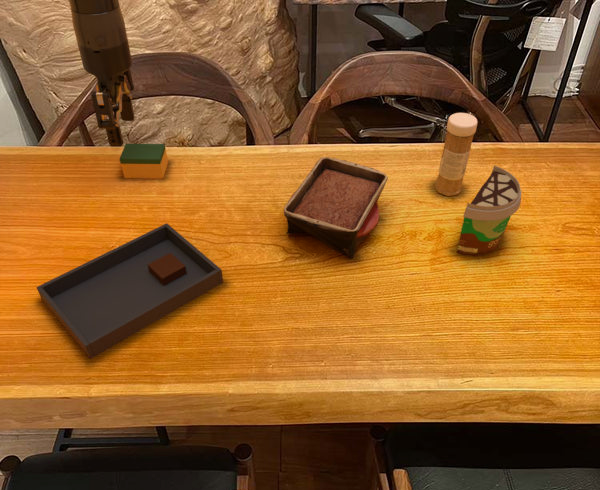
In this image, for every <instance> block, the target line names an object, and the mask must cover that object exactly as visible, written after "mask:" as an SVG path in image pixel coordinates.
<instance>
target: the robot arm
mask: <svg viewBox="0 0 600 490" xmlns="http://www.w3.org/2000/svg"><path fill="white" fill-rule="evenodd" d="M68 4H69V7H70V14H71V22H72V27H73V31H74V36H75V39H76V43H77V44H76V45H77V47H78V51H79V55H80V59H81V63H82V64H81V65H82V67H83V69H84V71H85V72H86V73H88V74H90V75H92V76H94V77H95V78H96V84H95V85H96V90H95V91H93V90H91V93H90V96H91V100H92V104H93V109H94V113H95V117H96V122H97V127H98V129H100V130H101V129H102V130H103V129H104V130H105V132H106V136H107V140H108V145H109V146H110V147H117V148H118V147H119V148H121V147H123V145H124V139H123V135H122V130H121V126H120V118H121V120H122V121H123V122H133V121H134V120H135V117H136V116H135V112H134V106H133V101H132V99H133V93H132V92H134V90H135V84H134V81H133V76H132V72H131V67H132V65H133V60H132V53H131V49H130V45H129V44H130V43H129V38H128V34H127V28H126V23H125V19H124V15H123V11H122V9H121V4H120V0H68Z"/></svg>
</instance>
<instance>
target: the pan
mask: <svg viewBox="0 0 600 490" xmlns="http://www.w3.org/2000/svg"><path fill="white" fill-rule="evenodd" d="M169 253H171V254H173V255H174V256H175V257H176V258H177V259H178V260H179V261H180V262H182V263H183V264H184V265H185V266H186V271H187V274H185V275H183V276H181V277H179V278H177V279H176V280H174V281H172V282H170V283H168V284H166V285H165V286H164V285H163V284H161V283H160V282H159V281H158V280H157V279H156V278H155V277H154V276H153V275H152V274H151V273H150V272H149V268H148V264H150V263H152V262H153V261H155V260H157V259H159V258H161V257H163V256H165V255H167V254H169ZM223 283H224V277H223V272H222V269H221V268H220V267H219V266H218V265H217V264H216V263H214V261H212V260H211V259H210V258H208V256H206V255H205V254H204V253H203V252H202V251H201V250H199V248H197V247H196V246H195V245H193V244H192V243H191V242H190V241H188V240H187V239H186V238H185V237H184V236H183V235H181V234H180V233H179V232H178V231H176V229H174V228H173V227H172V226H171V225H170V224H169V223H168V222H166V223H164V224H162V225H160V226H158V227H156V228H154V229H152V230H150V231H147V232H146V233H144V234H141V235H140V236H138V237H135V238H134V239H132V240H129V241H128V242H127V241H126V242H125V243H124V244H121V245H119V246H118V247H115V248H113V249H110V250H109V251H107V252H104V253H103V254H101V255H98V256H97V257H95V258H93V259H91V260H89V261H86V262H85V263H83V264H80V265H79V266H77V267H74V268H72V269H71V270H69V271H67V272H64V273H61V274H60V275H58V276H55V277H54V278H52V279H50V280H47V281H46V282H44V283H41V284H40V285H37V286H35V287H36V290H37V293H38V294H39V295H38V296H39V297H40V299H41V300H42V302H43V303H44V304H45V305H46V307H47V308H48V309H49V311H51V313H52V314H53V316H54V317H55V318H56V319H57V320H58V322H59V323H60V324H61V325H62V326H63V327H64V329H65V330H66V331H67V332H68V334H69V335H70V336H71V337H72V338H73V340H74V341H75V342H76V344H78V346H79V347H80V348H81V349H82V351H83V352H84V353H85V354H86V356H87V357H88V358H89V359H93V358H95V357H97V356H98V355H100V354H102V353H103V352H105V351H107V350H108V349H110V348H112V347H114V346H115V345H118V344H119V343H121V342H123V341H124V340H126V339H128V338H129V337H131V336H133V335H135V334H136V333H138V332H140V331H141V330H144V329H146V328H147V327H148V326H151V325H152V324H154V323H156V322H158V321H159V320H160V319H162V318H164V317H166V316H168V315H169V314H171V313H173V312H174V311H176V310H178V309H179V308H181V307H183V306H185V305H186V304H188V303H190V302H192V301H193V300H195V299H197V298H199V297H201V296H202V295H204V294H206V293H207V292H209V291H211V290H213V289H214V288H216V287H218V286H220V285H221V284H223Z"/></svg>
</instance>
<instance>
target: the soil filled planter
mask: <svg viewBox="0 0 600 490" xmlns="http://www.w3.org/2000/svg"><path fill="white" fill-rule="evenodd" d="M388 180H389V177H388V175H387V174H386V173H385V172H382V171H380V170H378V169H375V168H373V167H369V166H366V165H362V164H358V163H355V162H352V161H348V160H345V159H340V158H335V157H330V156H322V157H319V159H318V160H317V161H316V162H315V164H314V166H313V167H312V169H311V170H310V172H309V173H308V174H307V176H306V178H305V179H304V180H303V181H302V183H300V185H299V186H298V188H297V189H296V190H295V192H293V193H292V195H291V196H290V198H289V200H288V201H287V202H286V204H285V205H284V206H283V216H284V218H286V223H287V232H286V233H285V234H286V235H290V234H299V233H300V234H301V233H308V234H310V235H311V236H313V237H315V238H316V239H318V240H319V241H321V242H323V243H324V244H325V245H328V246H329V247H331V248H332V249H333V250H335V251H336V252H337V251H338V252H339V253H341V254H343V255H345V256H347V257H348V258H350V259H354V255H355V254H356V251H357V250H358V248H359V246H360V245H361V244H362V242H363V241H364V240H365V239H366V237H367V236H368V235H369V233H370V232H372V231H373V230H374V229H375V228H376V227H377V226H378V225H379V220H380V208H379V205H378V202H379V199H380V197H381V195H382V192H383V190H384V188H385V186H386V184H387V181H388Z"/></svg>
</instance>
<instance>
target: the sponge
mask: <svg viewBox="0 0 600 490" xmlns="http://www.w3.org/2000/svg"><path fill="white" fill-rule="evenodd" d="M167 154H168V153H167V150H166V144H165V143H125V145H124V147H123V150H122V152H121V154H120V156H119V162H120V166H121V171H122V174H123V175H122V176H123V178H124V179H161V180H163V179H164V178H165V175H166V171H167V168H168V164H169V160H168V155H167Z"/></svg>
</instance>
